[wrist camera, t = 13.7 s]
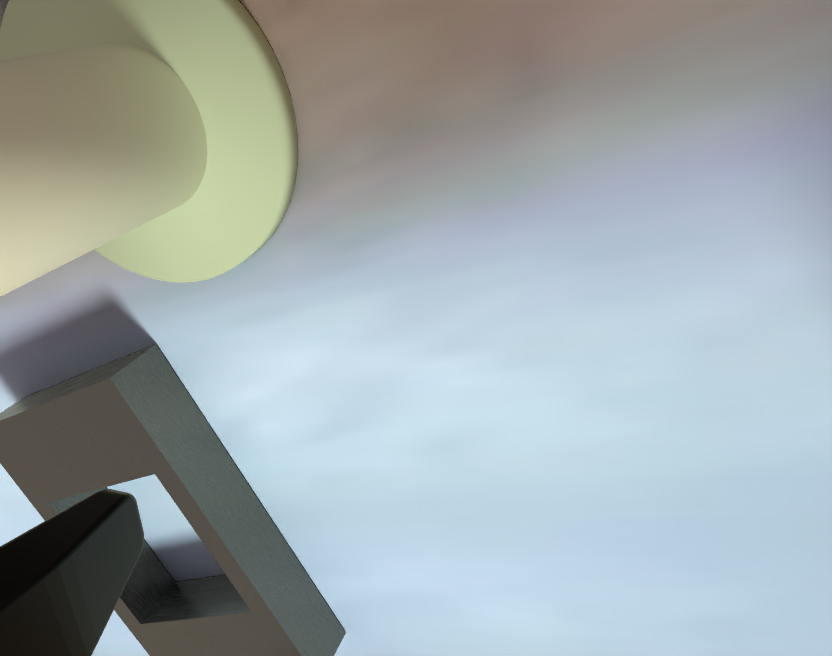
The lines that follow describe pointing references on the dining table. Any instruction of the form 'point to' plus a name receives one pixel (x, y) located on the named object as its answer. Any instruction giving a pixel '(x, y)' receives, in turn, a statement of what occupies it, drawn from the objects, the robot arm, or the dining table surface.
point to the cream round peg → (89, 152)
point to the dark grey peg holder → (191, 491)
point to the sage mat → (221, 114)
